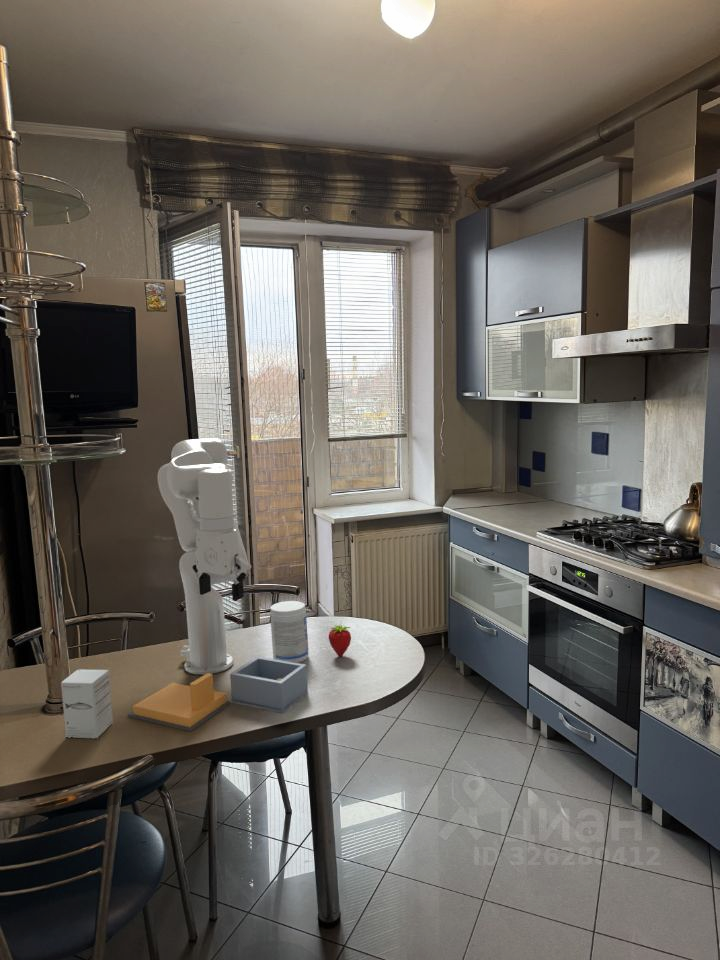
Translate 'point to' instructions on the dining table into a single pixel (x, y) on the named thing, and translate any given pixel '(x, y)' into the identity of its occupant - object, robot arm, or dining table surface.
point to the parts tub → (269, 684)
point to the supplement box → (87, 703)
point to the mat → (177, 724)
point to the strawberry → (339, 639)
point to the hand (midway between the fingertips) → (221, 596)
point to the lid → (182, 702)
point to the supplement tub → (289, 631)
